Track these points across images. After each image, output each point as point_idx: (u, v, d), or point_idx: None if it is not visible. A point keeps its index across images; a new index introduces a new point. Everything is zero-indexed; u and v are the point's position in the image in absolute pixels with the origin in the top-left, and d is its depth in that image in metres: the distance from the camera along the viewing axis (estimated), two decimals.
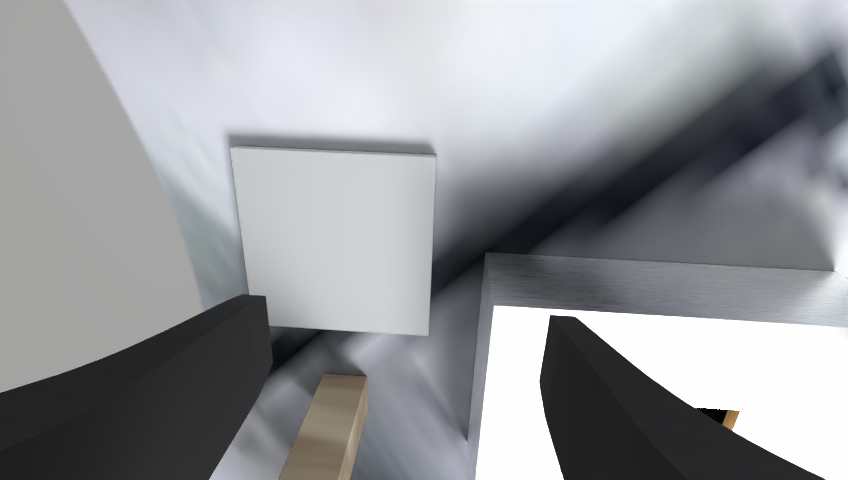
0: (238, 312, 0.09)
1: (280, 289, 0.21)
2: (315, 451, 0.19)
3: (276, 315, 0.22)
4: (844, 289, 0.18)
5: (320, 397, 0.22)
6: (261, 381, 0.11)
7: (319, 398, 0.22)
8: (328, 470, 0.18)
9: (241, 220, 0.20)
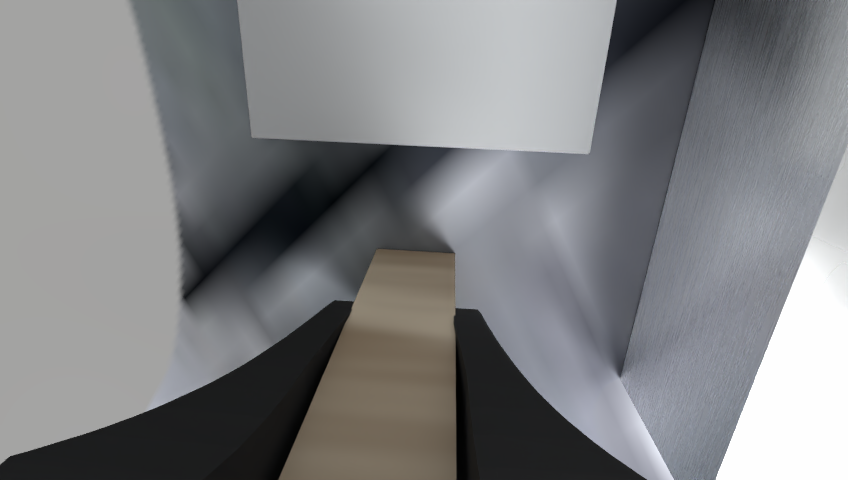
0: (343, 319, 0.09)
1: (306, 53, 0.11)
2: (389, 351, 0.09)
3: (295, 114, 0.11)
4: None
5: (379, 276, 0.12)
6: None
7: (377, 277, 0.12)
8: (427, 385, 0.08)
9: None
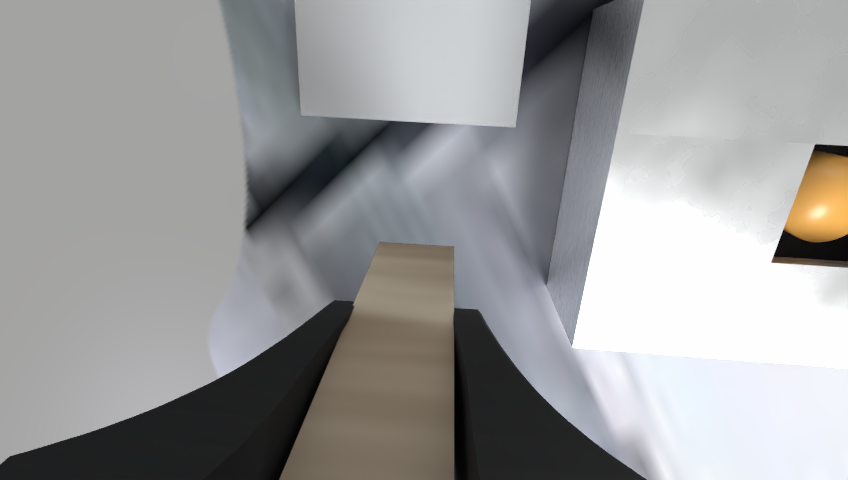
0: (343, 319, 0.09)
1: (337, 62, 0.17)
2: (391, 336, 0.09)
3: (329, 100, 0.18)
4: None
5: (382, 267, 0.12)
6: None
7: (380, 268, 0.12)
8: (427, 365, 0.08)
9: None
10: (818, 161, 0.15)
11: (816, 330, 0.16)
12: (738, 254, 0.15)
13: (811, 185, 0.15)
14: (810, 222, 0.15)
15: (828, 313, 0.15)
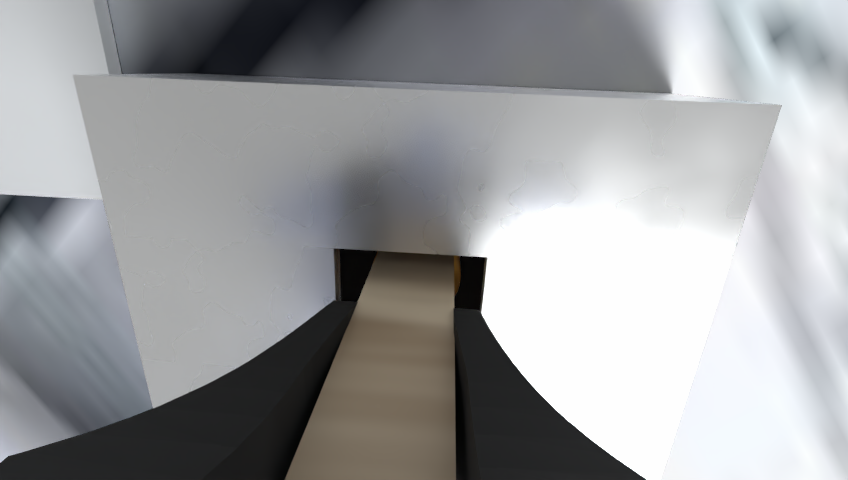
0: (342, 319, 0.09)
1: None
2: (393, 338, 0.09)
3: None
4: (664, 95, 0.12)
5: (383, 271, 0.12)
6: None
7: (381, 271, 0.12)
8: (429, 367, 0.08)
9: None
10: None
11: None
12: None
13: None
14: None
15: None
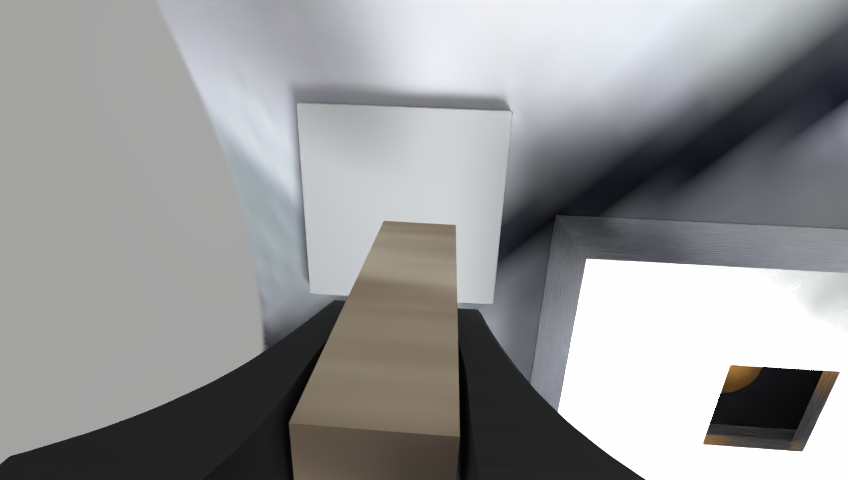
0: None
1: (341, 255, 0.21)
2: (397, 296, 0.10)
3: (334, 283, 0.21)
4: None
5: (387, 241, 0.13)
6: None
7: (385, 242, 0.13)
8: (432, 320, 0.09)
9: (304, 182, 0.19)
10: None
11: None
12: (674, 438, 0.18)
13: None
14: None
15: None
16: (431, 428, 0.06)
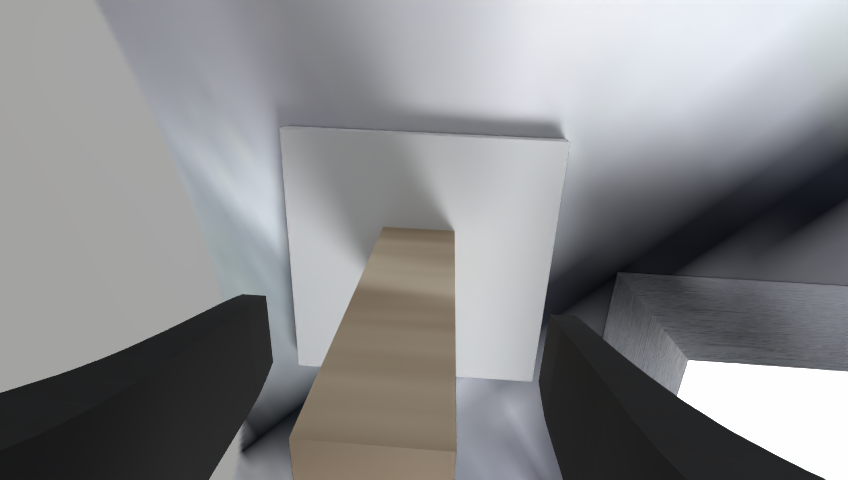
0: (238, 312, 0.09)
1: (338, 320, 0.16)
2: (396, 306, 0.10)
3: None
4: None
5: (386, 248, 0.13)
6: (261, 381, 0.11)
7: (384, 249, 0.13)
8: (430, 331, 0.09)
9: (290, 229, 0.15)
10: None
11: None
12: None
13: None
14: None
15: None
16: (428, 443, 0.06)
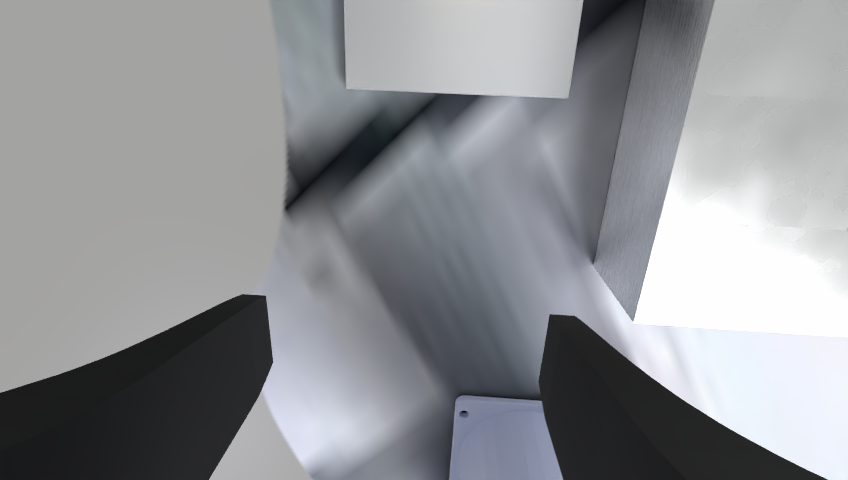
0: (238, 312, 0.09)
1: (386, 32, 0.17)
2: None
3: (376, 73, 0.18)
4: None
5: None
6: (261, 381, 0.11)
7: None
8: None
9: None
10: None
11: None
12: (813, 222, 0.14)
13: None
14: None
15: None
16: None
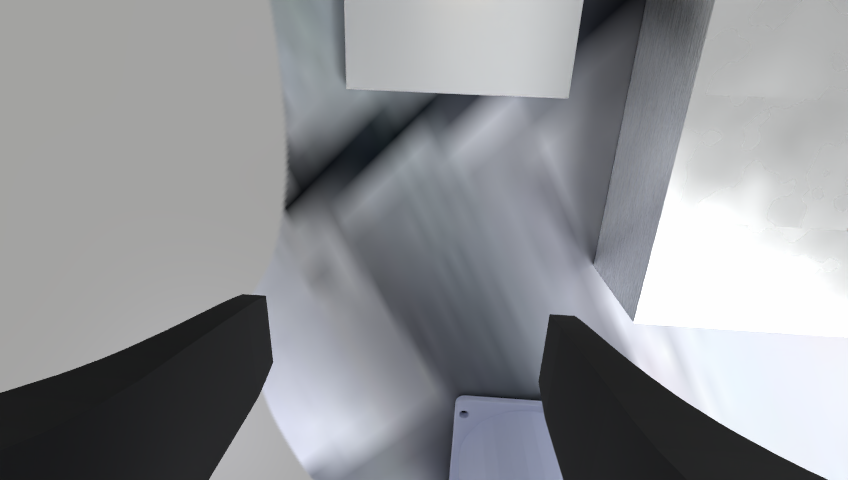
0: (238, 312, 0.09)
1: (386, 32, 0.17)
2: None
3: (376, 73, 0.18)
4: None
5: None
6: (261, 381, 0.11)
7: None
8: None
9: None
10: None
11: None
12: (813, 222, 0.14)
13: None
14: None
15: None
16: None
